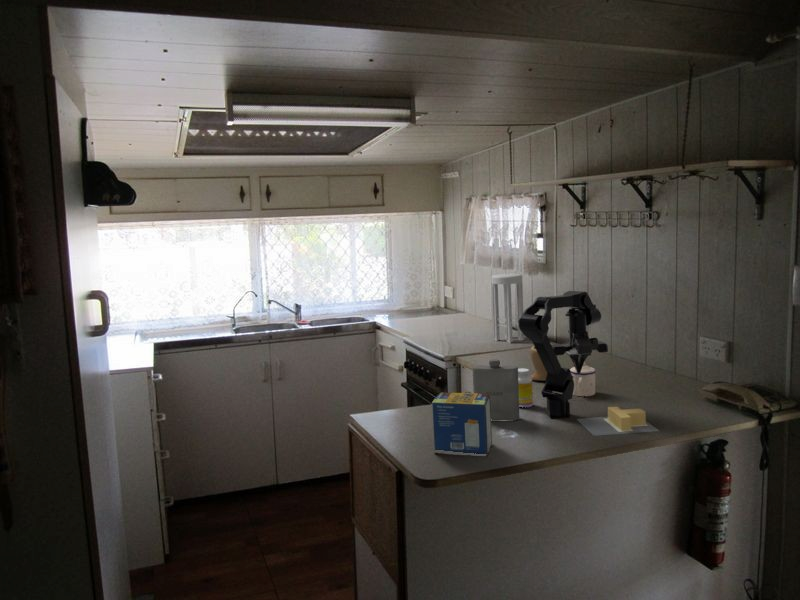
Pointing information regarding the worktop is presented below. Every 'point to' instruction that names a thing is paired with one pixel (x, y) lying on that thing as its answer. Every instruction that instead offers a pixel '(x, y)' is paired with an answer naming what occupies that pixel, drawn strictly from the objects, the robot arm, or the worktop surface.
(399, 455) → the worktop surface
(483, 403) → the protein box
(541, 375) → the stone cup
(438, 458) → the worktop surface
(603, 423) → the mat
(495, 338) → the stool
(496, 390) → the flask
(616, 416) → the t block
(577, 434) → the worktop surface
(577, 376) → the teacup with lid
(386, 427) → the worktop surface
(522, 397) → the supplement bottle
